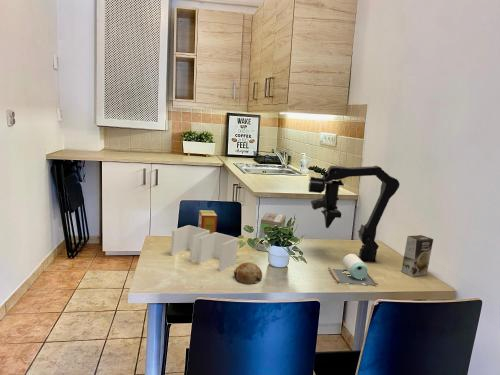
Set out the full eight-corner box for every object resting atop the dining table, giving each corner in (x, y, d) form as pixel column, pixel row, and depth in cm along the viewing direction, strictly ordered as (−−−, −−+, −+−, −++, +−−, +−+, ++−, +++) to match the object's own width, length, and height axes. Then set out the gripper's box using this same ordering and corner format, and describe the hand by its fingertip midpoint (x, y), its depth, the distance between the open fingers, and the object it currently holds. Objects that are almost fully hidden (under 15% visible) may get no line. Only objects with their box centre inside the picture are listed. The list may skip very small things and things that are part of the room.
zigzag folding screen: (235, 263, 165) (238, 238, 163) (220, 271, 156) (223, 244, 154) (187, 249, 177) (188, 225, 175) (170, 255, 167) (172, 230, 165)
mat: (365, 272, 169) (366, 269, 169) (377, 286, 155) (378, 283, 155) (328, 269, 168) (328, 266, 168) (336, 283, 154) (337, 280, 154)
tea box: (278, 253, 182) (282, 222, 179) (256, 250, 183) (259, 218, 181) (282, 244, 196) (286, 214, 193) (262, 241, 198) (265, 211, 195)
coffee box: (412, 277, 168) (419, 240, 165) (400, 271, 173) (406, 235, 171) (427, 275, 172) (434, 239, 169) (415, 269, 178) (421, 234, 175)
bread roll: (246, 294, 146) (256, 278, 143) (226, 276, 149) (236, 260, 146) (260, 286, 154) (270, 270, 151) (240, 268, 158) (250, 253, 155)
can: (338, 262, 169) (347, 273, 157) (350, 249, 168) (360, 260, 156) (350, 272, 170) (360, 284, 158) (362, 260, 169) (372, 271, 158)
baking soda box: (214, 250, 178) (217, 215, 176) (199, 250, 177) (202, 214, 174) (210, 243, 187) (213, 209, 184) (196, 243, 186) (199, 209, 183)
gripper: (309, 188, 189) (305, 221, 192) (318, 197, 171) (313, 232, 173) (333, 190, 190) (328, 222, 192) (343, 199, 171) (339, 234, 174)
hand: (326, 227), depth 183 cm, fingers closed
